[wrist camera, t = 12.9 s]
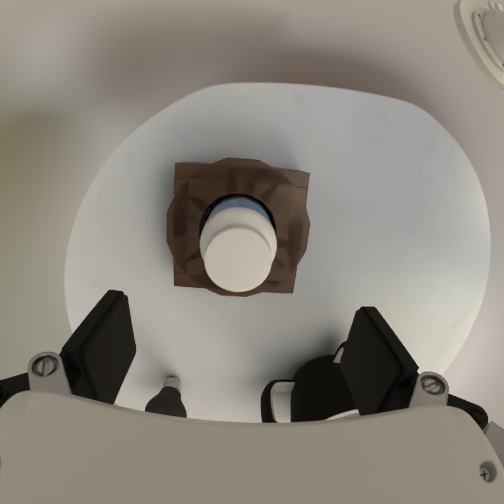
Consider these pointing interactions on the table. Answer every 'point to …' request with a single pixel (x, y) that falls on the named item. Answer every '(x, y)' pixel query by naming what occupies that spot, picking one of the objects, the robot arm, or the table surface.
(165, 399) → the light bulb
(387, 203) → the table surface
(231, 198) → the pill bottle
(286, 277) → the hole plate
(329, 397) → the mug
